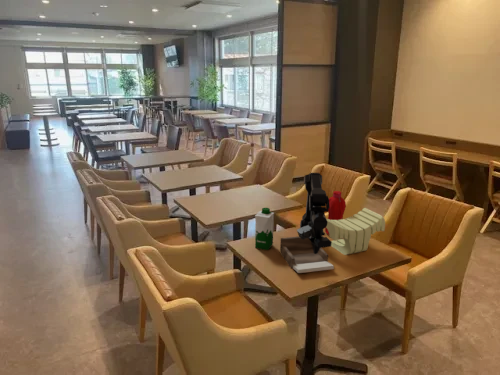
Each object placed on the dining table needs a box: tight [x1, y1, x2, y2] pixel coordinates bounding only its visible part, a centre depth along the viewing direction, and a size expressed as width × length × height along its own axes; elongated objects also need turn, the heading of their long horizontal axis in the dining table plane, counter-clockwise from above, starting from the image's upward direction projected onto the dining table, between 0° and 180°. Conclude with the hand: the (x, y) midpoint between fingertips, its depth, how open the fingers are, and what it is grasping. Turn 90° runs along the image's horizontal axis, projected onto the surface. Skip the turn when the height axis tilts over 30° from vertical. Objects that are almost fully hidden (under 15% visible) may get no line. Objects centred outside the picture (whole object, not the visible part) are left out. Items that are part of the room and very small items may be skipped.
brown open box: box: [279, 235, 329, 269], centre depth 183 cm, size 17×18×8 cm
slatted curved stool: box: [326, 207, 386, 256], centre depth 193 cm, size 30×16×18 cm, turn 113°
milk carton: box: [254, 207, 275, 251], centre depth 194 cm, size 9×9×20 cm
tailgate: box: [292, 260, 335, 274], centre depth 172 cm, size 2×17×7 cm
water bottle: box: [324, 190, 347, 237], centre depth 209 cm, size 9×11×25 cm
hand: (315, 253), depth 169 cm, fingers closed
